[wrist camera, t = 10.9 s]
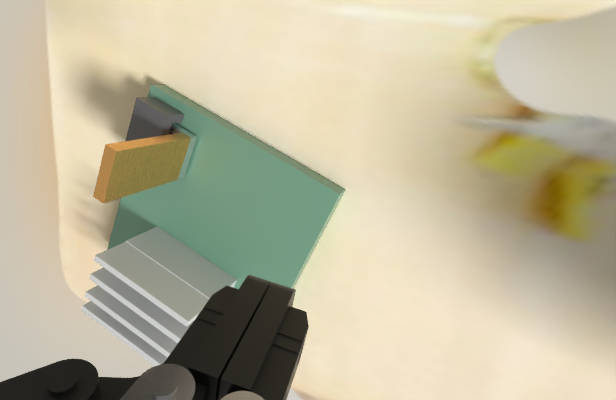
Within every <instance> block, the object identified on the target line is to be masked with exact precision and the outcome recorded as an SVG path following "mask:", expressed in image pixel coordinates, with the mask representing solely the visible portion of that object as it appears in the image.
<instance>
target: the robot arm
mask: <svg viewBox="0 0 616 400" xmlns="http://www.w3.org/2000/svg"><path fill="white" fill-rule="evenodd" d="M295 291H296V290H295V289H292V288H289V287H286V286H283V285H280V284H277V283H274V282H273V283H272V282H271V281H267V280H264V279H261V278H258V277H255V276H252V275H248V276H247V277H246V279H245V280H244V282H243V283H242V285H241V286H240V288H239V289H236V288H233V287H230V286H225V287H224V288H222V289H220V290H219V291H217V292H216V293H214V294H213V295H212V296H211V297H210V299H209V300H208V302H207V303H206V304H205V306H204V308H203V310H201V312H200V313H199V314H198V316H197V317H196V320H194V321H193V323H192V324H191V326H190V327H189V328H188V330H187V331H186V333H185V334H184V335H183V337H182V338H181V340H180V341H179V342H178V344H177V345H176V347H175V348H174V349H173V351H172V352H171V354H170V355H169V356H168V358H167V359H166V360H165V362H164V363H163V364H161V365H157V366H155V367H152V368H151V369H149V370H147V371H146V372H144V373H143V374H142V375H141V376H139V377H134V378H112V377H98V372H97V370H96V368H95V367H94V366H93V365H92V364H91V363H90V362H87V361H85V360H81V359H67V360H62V361H59V362H56V363H53V364H50V365H47V366H45V367H42V368H39V369H36V370H34V371H31V372H28V373H25V374H22V375H20V376H17V377H14V378H11V379H8V380H5V381H3V382H0V400H286V399H287V396H288V393H289V390H290V387H291V384H292V381H293V378H294V375H295V372H296V369H297V366H298V363H299V360H300V357H301V353H302V349H303V345H304V342H305V338H306V334H307V330H308V320H307V314H306V312H305V311H302V310H299V309H296V308H293V307H292V305H293V301H294V296H295Z"/></svg>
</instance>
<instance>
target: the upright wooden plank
mask: <svg viewBox="0 0 616 400" xmlns="http://www.w3.org/2000/svg"><path fill="white" fill-rule="evenodd" d="M196 139H197V136H195V135H193V134H192V133H190V132H188V131H187V130H185V129H183V128H182V127H180V126H178V125H177V124H175V123H173V124H172V125H171V128H170V132H169V135H163V136H156V137H150V138H144V139H137V140H131V141H124V142H118V143H112V144H106V145H105V149H104V153H103V157H102V162H101V166H100V170H99V175H98V179H97V183H96V187H95V192H94V196H93V197H95V198H96V199H98V200H99V201H101V202H102V203H106V202H109V201H113V200H116V199H119V198H122V197H125V196H128V195H131V194H134V193H138V192H141V191H144V190H147V189H150V188H153V187H156V186H159V185H163V184H166V183H169V182H172V181H175V180H178V179H181V178H184V175H185V172H186V169H187V166H188V163H189V160H190V157H191V154H192V151H193V148H194V145H195V142H196Z"/></svg>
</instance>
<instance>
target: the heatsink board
mask: <svg viewBox="0 0 616 400" xmlns="http://www.w3.org/2000/svg"><path fill="white" fill-rule="evenodd" d="M173 123H175V124H177V125H178V126H180V127H182V128H183V129H185V130H187V131H188V132H190V133H192V134H193V135H195V136H197V139H196V142H195V145H194V148H193V151H192V154H191V157H190V160H189V163H188V166H187V169H186V172H185V175H184V178H181V179H178V180H175V181H172V182H169V183H166V184H163V185H159V186H156V187H153V188H150V189H147V190H144V191H141V192H138V193H134V194H131V195H128V196H125V197H122V198H121V201H120V204H119V208H118V212H117V216H116V219H115V223H114V227H113V231H112V234H111V238H110V242H109V246H108V249H107V250H106V251H104V252H102V253H100V254H97V255H95V259H94V261H95V262H97V263H98V264H100V265H101V266H102V267H104V268H102V269H100V270H98V271H96V272H94V273H92V274H91V275H90V280H92V281H93V282H94V283H96V284H97V285H98V286H96V287H94V288H92V289H90V290H88V291H87V292H86V295H85V297H86V298H88V299H89V300H90V302H89V303H87V304H85V305H83V306H82V311H83V312H84V313H85V314H87V315H88V316H90V317H91V318H92V319H93V320H95V321H96V322H97V323H99V324H100V325H101V326H103V327H104V328H105V329H107V330H108V331H109V332H111V333H112V334H113V335H115V336H116V337H117V338H119V339H120V340H121V341H123V342H124V343H125V344H127V345H128V346H129V347H131V348H132V349H133V350H135V351H136V352H137V353H138V354H140V355H141V356H142V357H144V358H145V359H147V360H148V361H149V362H150V363H152V364H153V365H154V366H157V365H161V364H163V363H164V362H165V360H166V359H167V358H168V356H169V355H170V354H171V352H172V351H173V349H174V348H175V347H176V345H177V344H178V342H179V341H180V340H181V338H182V337H183V335H184V334H185V333H186V331H187V330H188V328H189V327H190V326H191V324H192V323H193V321H194V320H196V317H197V316H198V314H199V313H200V312H201V310H203V308H204V306H205V304H206V303H207V302H208V300H209V299H210V297H211V296H212V295H213V294H214V293H216V292H217V291H219V290H220V289H222V288H224V287H225V286H230V287H233V288H236V289H239V288H240V286H241V285H242V283H243V282H244V280H245V279H246V277H247V276H248V275H252V276H255V277H258V278H261V279H264V280H267V281H271V282H272V283H273V282H274V283H277V284H280V285H283V286H286V287H289V288H292V289H293V288H294V286H295V284H296V282H297V281H298V279H299V277H300V275H301V273H302V271H303V269H304V267H305V265H306V263H307V262H308V260H309V258H310V256H311V254H312V252H313V250H314V248H315V246H316V245H317V243H318V241H319V239H320V237H321V235H322V233H323V231H324V229H325V228H326V226H327V224H328V222H329V220H330V218H331V216H332V214H333V212H334V211H335V209H336V207H337V205H338V203H339V201H340V199H341V197H342V195H343V193H344V192H345V189H343V188H342V187H340V186H338V185H336V184H335V183H333V182H331V181H330V180H328V179H326V178H324V177H323V176H321V175H319V174H317V173H316V172H314V171H312V170H311V169H309V168H307V167H305V166H304V165H302V164H300V163H298V162H297V161H295V160H293V159H292V158H290V157H288V156H286V155H285V154H283V153H281V152H279V151H278V150H276V149H274V148H272V147H271V146H269V145H267V144H266V143H264V142H262V141H260V140H259V139H257V138H255V137H253V136H252V135H250V134H248V133H247V132H245V131H243V130H241V129H240V128H238V127H236V126H234V125H233V124H231V123H229V122H228V121H226V120H224V119H222V118H221V117H219V116H217V115H215V114H214V113H212V112H210V111H208V110H207V109H205V108H203V107H202V106H200V105H198V104H196V103H195V102H193V101H191V100H189V99H188V98H186V97H184V96H183V95H181V94H179V93H177V92H176V91H174V90H172V89H170V88H169V87H167V86H165V85H151V88H150V92H149V96H148V97H147V98H136V102H135V106H134V110H133V114H132V118H131V122H130V126H129V130H128V134H127V138H126V141H131V140H137V139H144V138H150V137H156V136H163V135H169V132H170V128H171V125H172V124H173Z"/></svg>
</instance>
